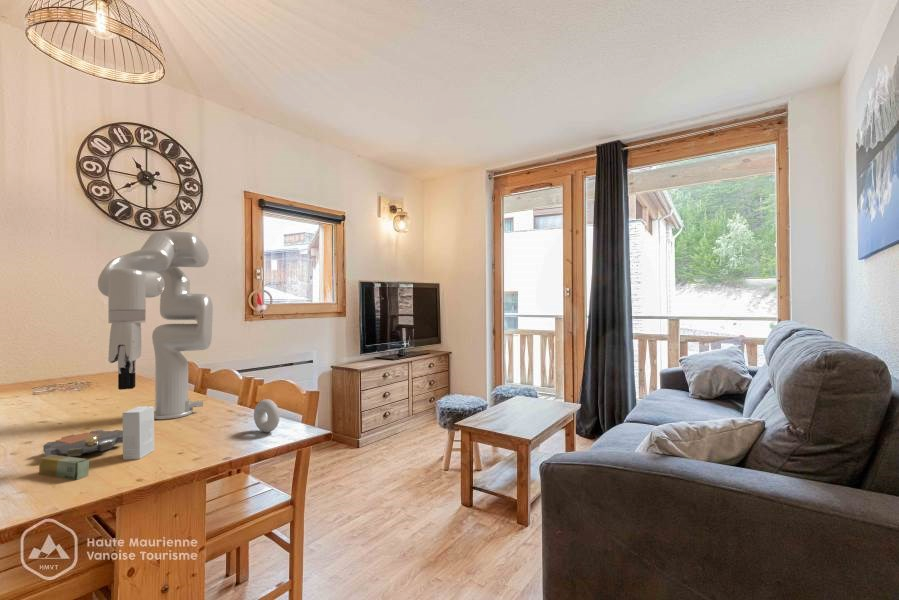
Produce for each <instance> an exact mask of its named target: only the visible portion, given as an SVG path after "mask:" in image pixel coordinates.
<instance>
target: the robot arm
mask: <svg viewBox="0 0 899 600" xmlns="http://www.w3.org/2000/svg"><path fill="white" fill-rule="evenodd" d="M209 255H210V254H209V250H208V248H207V246H206V244H205V243H204V242H203V241H202V239H201V238H200V237H199V236H198V235H197V234H195V233H193V232H190V231H189V232H188V231H187V232H186V231H171V230H168V231H167V230H166V231H165V230H160V231H155V232H153V233H152V234H150V236H149V237H148V238H147V239H146V241H145V242H144V244H143V245H142V246H141V248H140V249H137V250H135V251H132V252H128V253H126V254H123V255H120V256H118V257H115V258H113V259H112V260H110V261H109V262H108V263H107V264H106V265H105V266H104V267H103V269H102V271H101V272H100V274H99V275H98V279H97V287H98V290H99V292H100V293H101V294H102V295H103V296H105V297H107V299H108V302H107V303H108V308H107V309H108V311H107V314H108V319H107V321H108V324H111V326H110V331H109V341H108V343H109V345H108V356H107V357H108V363H110V364H113V363H116V362H117V369H118V371H117V374H118V375H117V377H118V379H117V380H118V382H117V383H118V384H117V387H118V388H117V389H118V390H131V389H132V390H133V389H134V388H136V364H137V363H136V362H137V361H136V360H139V358H140V357H141V355H142V323H144V324H145V323H146V304H147V303H146V302H147V301H146V300H147V299H149V298H150V299H151V298H156V297H158V296H160V297H159V298H160V299H159V300H160V301H159V314H160V316H161V317H162V319H165V320H167V321H168V320H169V321H196V323H165V324H160V325H158V326H156V327H155V328H153V329H154V330H153V331H152V336H151V339H152V345H153V350H154V360H155V365H154V366H155V369H154V370H155V371H154V373H155V374H154V375H155V378H154V379H155V380H154V382H155V383H154V384H155V385H154V387H155V389H154V390H155V391H154V392H155V393H154V395H155V397H154V398H155V399H154V400H155V404H154V405H155V406H154V420H171V419H177V418H182V417H187V416H189V415H191V414H192V413H193V412H194V408H201V407H204V401H203V400H201V401H199V400H194V401H192V400H190V398H189V362H188V360H187V358H186V357H185V356H184V354H182V352H186V351H187V352H190V351H192V352H193V351H204V350H207V349H208V348H210V346H211V344H212V338H213V337H212V336H213V335H212V334H213V316H214V315H213V314H214V313H213V311H214V309H213V301H212V299H211V297H210V296H209V295H207V294H205V293H190V289H191V288H190V287H191V286H190V285H191V281H190V279H189V277H188V275H186V273H185V272H184V270H182V269H181V268H203V267H206V265H207V264H208V262H209V259H210V257H209Z"/></svg>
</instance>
